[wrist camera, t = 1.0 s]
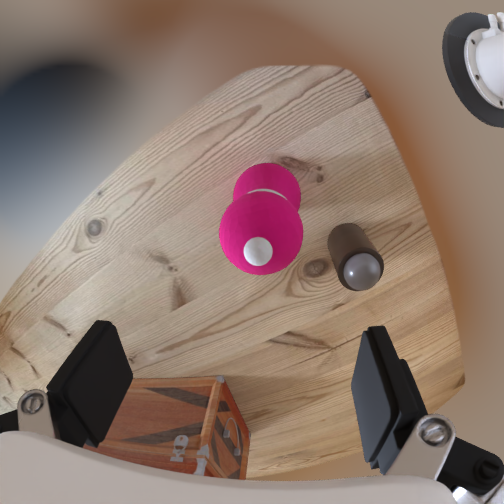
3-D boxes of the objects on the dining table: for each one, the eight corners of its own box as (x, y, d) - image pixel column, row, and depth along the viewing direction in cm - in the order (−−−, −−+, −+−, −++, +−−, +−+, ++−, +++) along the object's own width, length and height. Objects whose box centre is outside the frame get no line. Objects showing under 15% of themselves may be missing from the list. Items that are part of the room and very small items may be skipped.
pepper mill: (252, 225, 38) (228, 321, 20) (229, 172, 36) (176, 225, 18) (307, 204, 37) (333, 287, 18) (284, 149, 34) (292, 177, 16)
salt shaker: (328, 222, 37) (344, 256, 28) (367, 223, 37) (394, 256, 28) (326, 260, 39) (339, 303, 30) (363, 260, 39) (385, 301, 30)
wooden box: (62, 374, 56) (22, 434, 38) (224, 373, 49) (202, 474, 31) (104, 427, 64) (78, 484, 46) (252, 434, 57) (243, 515, 39)
